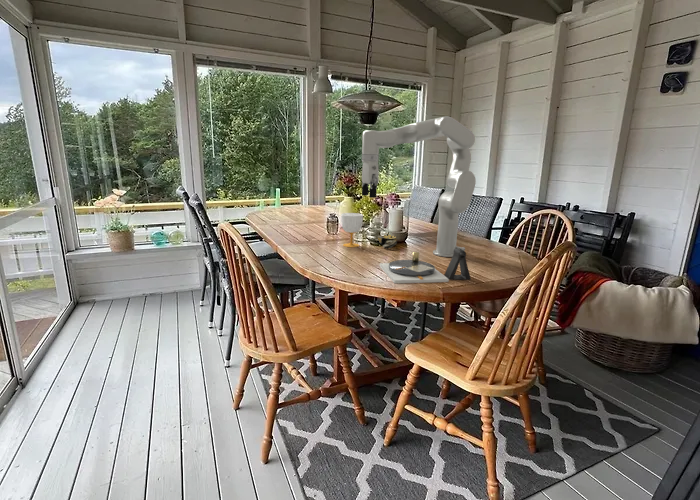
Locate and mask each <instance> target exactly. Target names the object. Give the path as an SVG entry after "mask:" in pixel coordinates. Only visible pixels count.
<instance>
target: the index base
mask: <svg viewBox="0 0 700 500" xmlns="http://www.w3.org/2000/svg"><path fill="white" fill-rule="evenodd" d="M389 263H390V262H389ZM389 263H381V262H380V263H379V267H380V269H381V270H382V271H383V272H384V273H385V274H386V275H387V277H388V278H389V279H390V280H391V281H392V282H393V284H415V283H416V284H418V283H419V284H420V283H422V284H423V283H425V284H426V283H449V281H450V280H449V279H448V278H447V277H446V276H445V275H444V274H443V273H441V272H440V271H439V270H437V269H436V268H435V271H434V273H433V274H431V275H427V276H406V275H401V274H397V273H394V272H392V271H390V270H389Z"/></svg>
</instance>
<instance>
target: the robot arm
mask: <svg viewBox="0 0 700 500" xmlns="http://www.w3.org/2000/svg"><path fill="white" fill-rule="evenodd" d="M440 137H446V144H447V147H448V148H449V149H450V151H451V153H452V161H451V165H450V168H449V172H448V175H447V180H446V184H447V186H448V187H449V188H450V189H453V191H450V190H449V191H444V192H443V193H442V194H440V196H439V198H438V203H437V204H438V226H437V236H436V249H433V250H432V253H433V254H434V255H435V256H438V257H445V258H452V257H453V254H454V249H455V248H458V249H459V248H460V249H462V250H463V251H465V252H466V248H465V246H464V247H463V246H462V247H461V246H458V245H457V241H458V239H457V238H458V227H459V214H463V213H465V212H466V211H467V209H468V208H469V206H470V204H471V202H472V197H473V194H474V190H475V188H476V184H477V181H476V175H475V174H474V173H473V172H472V171H470V166H471V161H472V154H471V150H470V148H472V147H473V146H474V145H475V141H476V137H475V134H474V133H473V131H472V130H470V129H469V128H468V127H466V126H465V125H463V124H462V123H461V122H459V121H458V120H457V119H455V118H454V117H452V116H448V115H444V116H440V117H436V118H431V119H427V120H422V121H418V122H414V123H409V124H407V125H404V126H403V125H402V126H401V127H396V128H391V129H388V130H373V129H372V130H370V129H368V130H367V129H366V130H364V131H363V132H362V142H361V143H362V145H361V146H362V148H361V150H362V151H361V162H362V170H361V171H362V172H361V195H362V196H368V197H369V198H371V199H372V198H374V199H375V198H377V194H378V193H377V189H378V184H379V180H380V178H379V177H380V176H379V173H380V172H379V169H380V168H379V158H380V157H379V155H380V148H381V149H388V148H393V147H394V146H398V145H402V144H413V143H419V142H423V141H426V140H430V139H431V140H432V139H436V138H440ZM460 249H459V250H460Z"/></svg>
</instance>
